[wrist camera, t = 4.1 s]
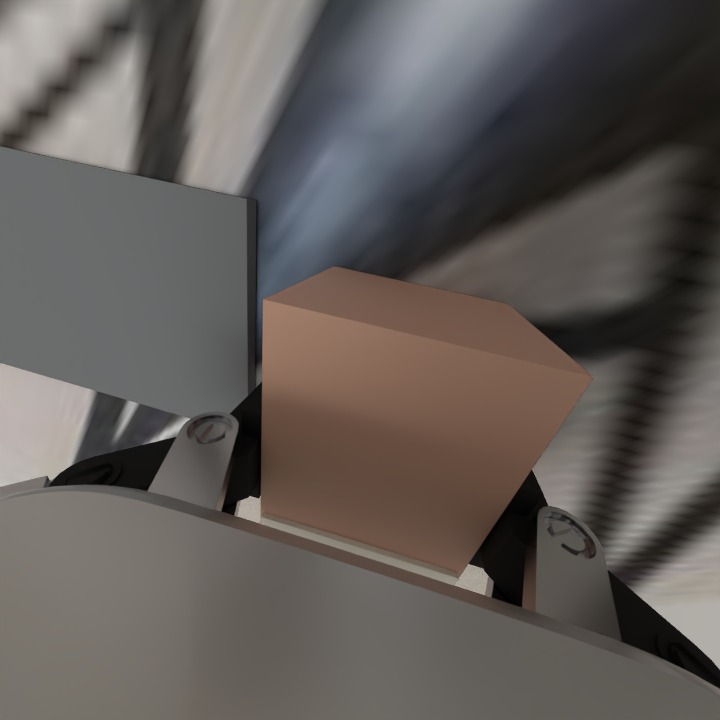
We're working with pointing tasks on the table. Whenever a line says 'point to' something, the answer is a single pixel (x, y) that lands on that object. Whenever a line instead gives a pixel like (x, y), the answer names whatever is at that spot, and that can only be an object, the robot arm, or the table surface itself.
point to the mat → (127, 284)
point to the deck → (402, 416)
